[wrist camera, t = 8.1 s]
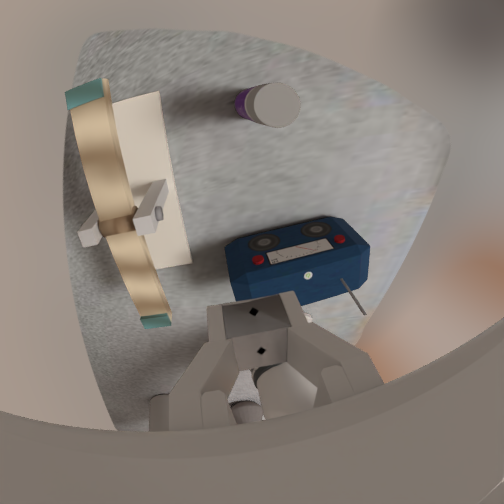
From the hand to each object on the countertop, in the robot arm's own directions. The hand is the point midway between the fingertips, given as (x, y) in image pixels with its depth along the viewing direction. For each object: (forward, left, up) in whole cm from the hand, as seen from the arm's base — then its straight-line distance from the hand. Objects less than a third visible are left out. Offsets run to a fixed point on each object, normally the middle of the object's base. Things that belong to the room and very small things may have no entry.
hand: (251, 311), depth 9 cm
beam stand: (-4, +12, -33) cm, 35 cm away
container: (+6, -6, -33) cm, 34 cm away
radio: (-18, -10, -33) cm, 39 cm away
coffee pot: (-71, +3, -33) cm, 78 cm away
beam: (-4, +12, -22) cm, 26 cm away
